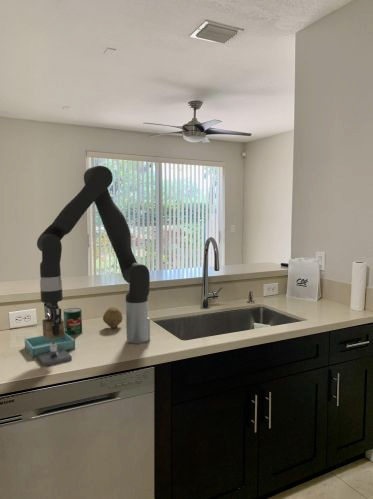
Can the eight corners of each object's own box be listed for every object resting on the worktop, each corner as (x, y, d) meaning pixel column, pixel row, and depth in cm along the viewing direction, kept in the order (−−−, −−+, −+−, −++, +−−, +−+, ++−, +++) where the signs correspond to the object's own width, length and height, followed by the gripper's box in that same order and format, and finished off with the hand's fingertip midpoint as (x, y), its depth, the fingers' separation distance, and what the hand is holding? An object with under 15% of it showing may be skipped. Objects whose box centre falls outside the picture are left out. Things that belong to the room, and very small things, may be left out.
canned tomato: (74, 329, 172) (73, 306, 171) (86, 332, 168) (85, 308, 167) (60, 334, 166) (59, 310, 165) (72, 337, 162) (71, 312, 161)
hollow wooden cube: (59, 332, 140) (58, 316, 139) (64, 336, 135) (63, 320, 135) (43, 335, 137) (42, 319, 136) (47, 339, 132) (46, 323, 131)
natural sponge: (99, 329, 172) (98, 309, 171) (108, 324, 181) (108, 304, 180) (116, 331, 169) (116, 310, 169) (125, 325, 178) (125, 305, 177)
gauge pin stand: (63, 352, 144) (62, 335, 143) (71, 360, 135) (71, 342, 135) (36, 358, 138) (35, 340, 137) (43, 366, 130) (43, 348, 129)
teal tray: (64, 339, 159) (64, 331, 158) (75, 348, 147) (74, 340, 147) (24, 347, 149) (24, 339, 149) (33, 357, 138) (32, 348, 138)
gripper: (67, 290, 131) (70, 335, 132) (55, 284, 142) (58, 326, 144) (46, 293, 126) (48, 340, 128) (35, 286, 138) (38, 330, 139)
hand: (53, 332), depth 136 cm, fingers closed on hollow wooden cube, 6 cm apart
